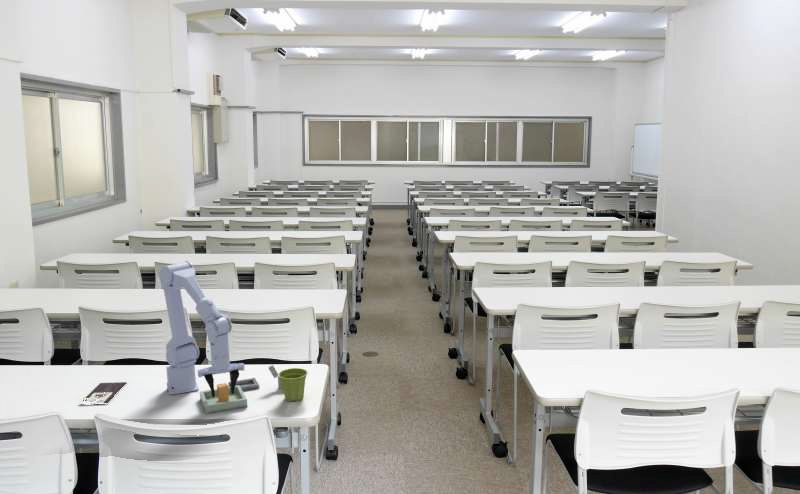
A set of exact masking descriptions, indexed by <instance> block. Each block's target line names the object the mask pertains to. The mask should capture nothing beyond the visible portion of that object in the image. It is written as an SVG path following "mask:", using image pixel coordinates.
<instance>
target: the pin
mask: <svg viewBox="0 0 800 494" xmlns="http://www.w3.org/2000/svg"><path fill="white" fill-rule="evenodd" d="M228 387H229V385H228V384H227V382H224V383H223V382H222V383H218V384H216V389H217V392H218V401H219V403H221V402H227V401H229V395H228Z"/></svg>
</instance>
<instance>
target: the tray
mask: <svg viewBox="0 0 800 494" xmlns="http://www.w3.org/2000/svg"><path fill="white" fill-rule="evenodd" d="M240 386H241V385H236V386H235V389H234V394H232V393H231V389H230V387H229V386H228V395H229V401H227V402H221V403H219V401H218V392H217V388H214V392H215V397H212V393H211V389H207V390H202V391H199V397H200V398H199V399H200V402H201V406H202V407H203V410H204V413H205V415H209V414H214V413H221V412H227V411H231V410H237V409H243V408H247V407H248V398H247V397H246V395H245V393H244V391H242V389H241V387H240Z"/></svg>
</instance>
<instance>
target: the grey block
mask: <svg viewBox="0 0 800 494" xmlns="http://www.w3.org/2000/svg"><path fill="white" fill-rule="evenodd" d="M268 370H269V371H270V373H271V375H272V376H273V378H274V379H275V378H277V388H278V389H283V386H282V382H281V380H280V377H279V375H278V374H279V372H277V370H276V368H275V366H274V364H272V365H269V366H268Z"/></svg>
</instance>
